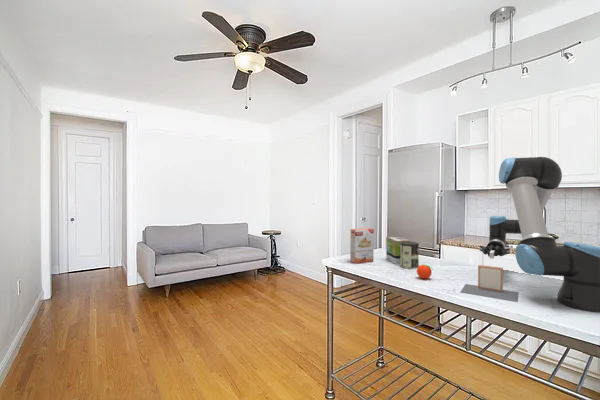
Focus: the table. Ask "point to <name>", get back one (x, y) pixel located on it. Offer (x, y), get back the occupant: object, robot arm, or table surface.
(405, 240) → the tea box
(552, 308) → the table surface
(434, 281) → the table surface
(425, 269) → the clementine
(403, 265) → the coffee can
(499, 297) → the mat
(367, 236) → the cracker box
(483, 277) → the tile
